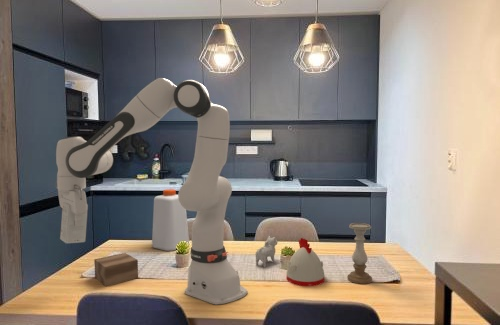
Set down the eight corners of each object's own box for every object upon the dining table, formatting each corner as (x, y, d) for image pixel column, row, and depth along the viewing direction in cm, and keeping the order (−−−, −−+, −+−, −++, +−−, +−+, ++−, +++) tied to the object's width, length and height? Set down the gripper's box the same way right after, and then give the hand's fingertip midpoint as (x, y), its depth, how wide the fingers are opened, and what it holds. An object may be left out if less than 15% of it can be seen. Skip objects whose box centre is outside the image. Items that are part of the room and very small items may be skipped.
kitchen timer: (312, 270, 145) (311, 233, 144) (331, 282, 132) (331, 241, 131) (280, 275, 140) (280, 236, 139) (297, 288, 127) (297, 246, 126)
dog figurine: (280, 259, 159) (280, 235, 158) (264, 268, 148) (264, 242, 148) (270, 257, 162) (270, 233, 161) (253, 265, 151) (253, 240, 151)
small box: (85, 242, 126) (88, 204, 126) (65, 243, 122) (68, 204, 122) (78, 237, 132) (81, 201, 132) (59, 239, 128) (62, 202, 128)
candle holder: (342, 277, 137) (342, 223, 136) (361, 274, 140) (362, 221, 139) (357, 285, 129) (357, 228, 128) (377, 282, 132) (377, 226, 131)
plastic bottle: (192, 244, 183) (191, 189, 182) (170, 252, 171) (168, 192, 169) (171, 240, 192) (170, 187, 190) (148, 247, 179) (146, 190, 178)
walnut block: (138, 278, 139) (137, 259, 138) (106, 286, 131) (105, 267, 131) (125, 269, 148) (125, 252, 148) (94, 277, 140) (94, 259, 140)
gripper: (91, 185, 120) (92, 227, 121) (73, 181, 136) (75, 218, 137) (70, 187, 116) (72, 230, 117) (54, 182, 132) (56, 220, 133)
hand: (73, 223), depth 127 cm, fingers closed on small box, 8 cm apart
